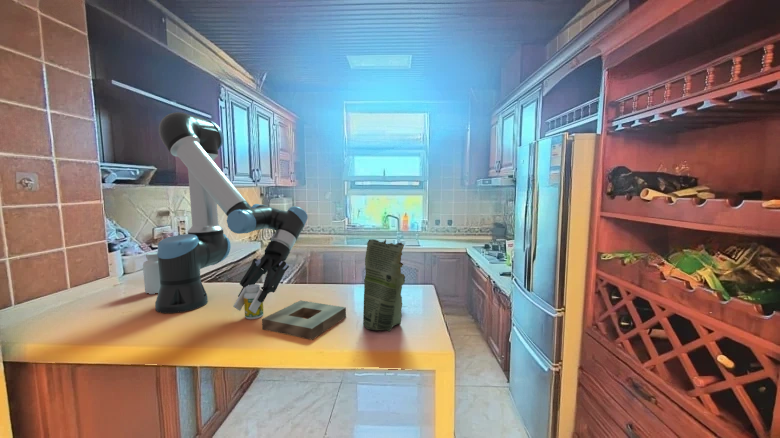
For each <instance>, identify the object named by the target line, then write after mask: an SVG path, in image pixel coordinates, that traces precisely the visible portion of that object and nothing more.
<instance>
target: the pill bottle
mask: <svg viewBox="0 0 780 438" xmlns="http://www.w3.org/2000/svg"><path fill="white" fill-rule="evenodd" d="M157 252H158V251H153V252H148V253H146V254H145V258H146V260H145V261H144V262H143V264H142V269H143V271H142V272H143V282H144V283H143V284H144V292H145V294H147V293H149V294H148V295H156V294H155V293H158V292H159V289H160V275H159V264H158V256H157Z"/></svg>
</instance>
